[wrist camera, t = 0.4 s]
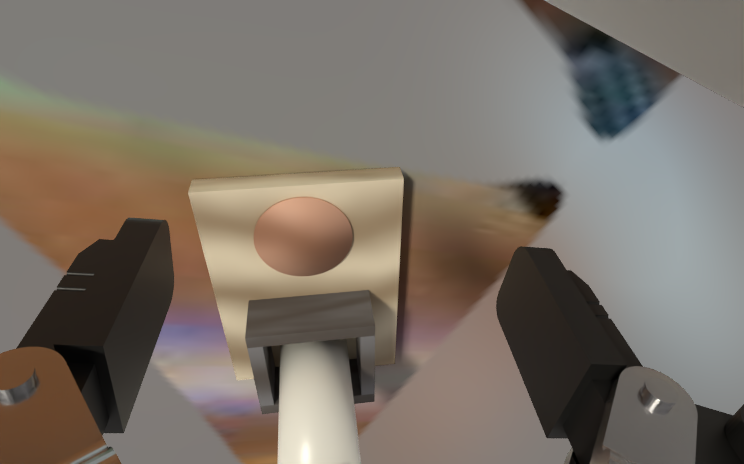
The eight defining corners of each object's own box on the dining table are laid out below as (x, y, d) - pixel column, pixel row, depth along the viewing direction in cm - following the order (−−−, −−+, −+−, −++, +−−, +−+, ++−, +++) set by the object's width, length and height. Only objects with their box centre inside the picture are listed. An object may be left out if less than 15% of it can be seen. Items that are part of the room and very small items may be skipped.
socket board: (192, 179, 30) (177, 227, 26) (399, 166, 32) (415, 210, 28) (238, 365, 41) (232, 418, 37) (391, 349, 42) (402, 399, 38)
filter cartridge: (274, 314, 36) (266, 515, 25) (347, 307, 37) (371, 500, 25) (281, 361, 39) (278, 557, 28) (349, 354, 40) (371, 544, 29)
